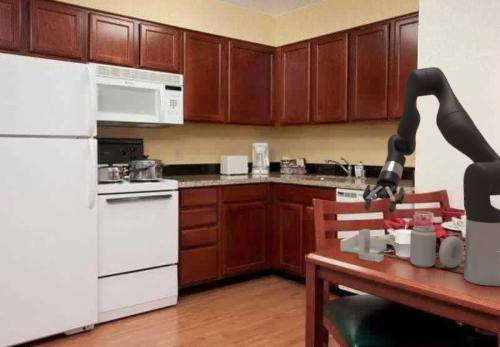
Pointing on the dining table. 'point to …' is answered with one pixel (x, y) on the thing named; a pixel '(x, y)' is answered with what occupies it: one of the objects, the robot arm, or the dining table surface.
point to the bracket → (367, 247)
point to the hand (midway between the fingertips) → (377, 210)
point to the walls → (354, 240)
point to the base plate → (355, 250)
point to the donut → (457, 252)
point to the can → (423, 246)
